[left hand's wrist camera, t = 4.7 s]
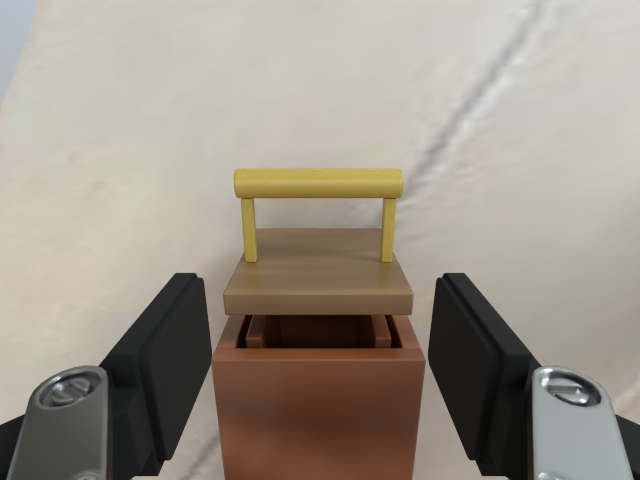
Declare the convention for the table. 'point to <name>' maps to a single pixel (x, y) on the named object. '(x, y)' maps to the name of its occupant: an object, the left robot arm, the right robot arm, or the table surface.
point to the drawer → (318, 265)
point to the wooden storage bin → (318, 407)
